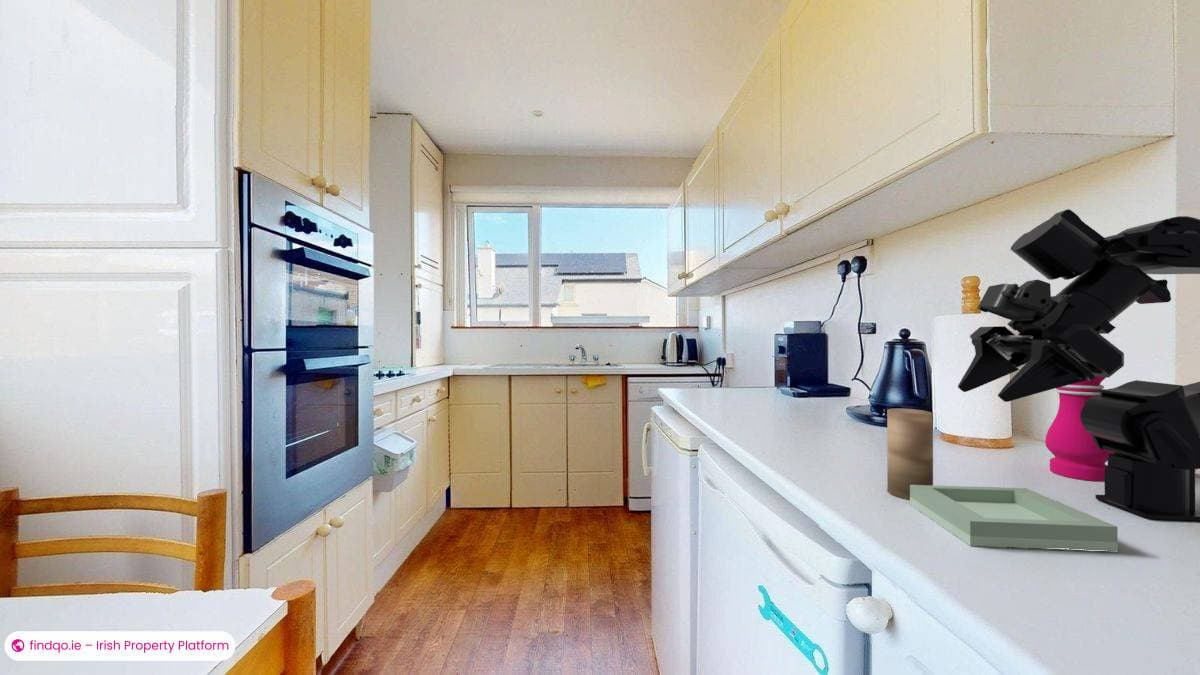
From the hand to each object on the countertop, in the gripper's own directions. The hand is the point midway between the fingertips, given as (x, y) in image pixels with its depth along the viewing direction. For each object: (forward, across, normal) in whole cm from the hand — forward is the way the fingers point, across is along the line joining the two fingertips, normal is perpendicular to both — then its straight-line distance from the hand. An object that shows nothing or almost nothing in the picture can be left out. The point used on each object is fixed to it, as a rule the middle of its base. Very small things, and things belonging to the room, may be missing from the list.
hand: (979, 393), depth 58 cm
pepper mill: (-4, -14, +24) cm, 28 cm away
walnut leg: (+15, 0, +4) cm, 16 cm away
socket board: (+11, +9, +8) cm, 16 cm away
